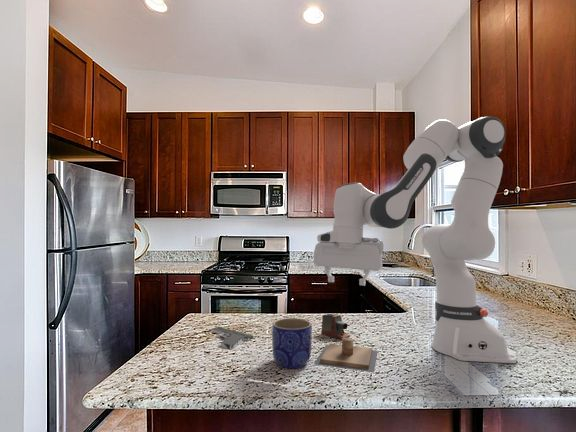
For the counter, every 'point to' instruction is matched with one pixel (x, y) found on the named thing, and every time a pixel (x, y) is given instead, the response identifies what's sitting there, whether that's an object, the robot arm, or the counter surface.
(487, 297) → the counter surface
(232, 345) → the handgun
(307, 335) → the planter
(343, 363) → the lid
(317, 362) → the mat
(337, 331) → the electronic device
